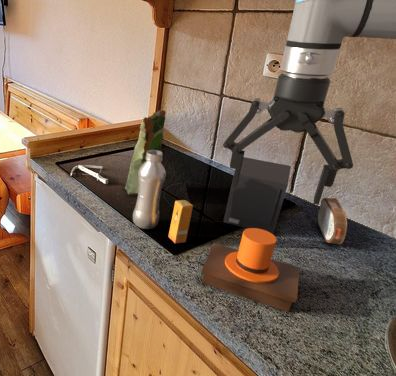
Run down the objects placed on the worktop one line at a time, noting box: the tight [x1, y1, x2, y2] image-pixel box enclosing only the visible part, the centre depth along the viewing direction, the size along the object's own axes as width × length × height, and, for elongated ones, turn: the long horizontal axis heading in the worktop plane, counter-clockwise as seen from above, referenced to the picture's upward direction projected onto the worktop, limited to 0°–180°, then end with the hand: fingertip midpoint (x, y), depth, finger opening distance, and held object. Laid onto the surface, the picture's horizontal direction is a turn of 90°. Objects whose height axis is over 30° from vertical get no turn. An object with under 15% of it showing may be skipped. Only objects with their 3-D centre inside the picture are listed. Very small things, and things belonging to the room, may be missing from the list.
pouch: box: [124, 109, 167, 196], centre depth 116 cm, size 11×12×25 cm
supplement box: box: [168, 199, 194, 244], centre depth 96 cm, size 3×3×10 cm
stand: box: [201, 242, 300, 313], centre depth 83 cm, size 17×11×4 cm, turn 60°
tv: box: [223, 156, 292, 235], centre depth 106 cm, size 12×14×14 cm
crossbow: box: [70, 164, 109, 185], centre depth 132 cm, size 16×13×2 cm
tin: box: [317, 197, 348, 246], centre depth 100 cm, size 15×3×8 cm, turn 161°
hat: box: [225, 228, 279, 283], centre depth 80 cm, size 10×10×8 cm
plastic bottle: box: [132, 150, 167, 230], centre depth 99 cm, size 6×7×20 cm
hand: (273, 192), depth 75 cm, fingers open, 13 cm apart
